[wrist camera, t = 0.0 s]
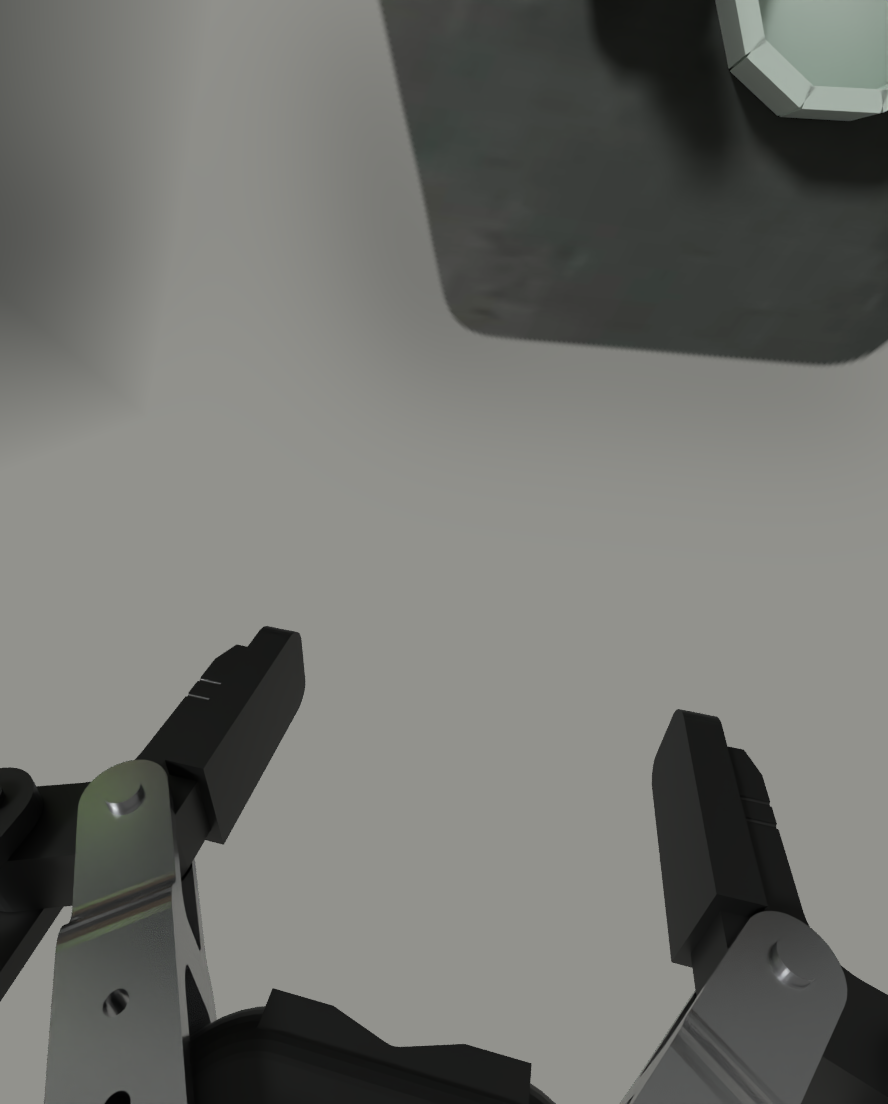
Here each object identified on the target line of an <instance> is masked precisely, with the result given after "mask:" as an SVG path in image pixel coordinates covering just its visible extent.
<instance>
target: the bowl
mask: <svg viewBox="0 0 888 1104" xmlns="http://www.w3.org/2000/svg"><path fill="white" fill-rule="evenodd" d="M715 3H716V8H717V13H718V18H719V23H720V28H721V33H722V38H723V43H724V48H725V53H726V58H727V63H728V68H731V67H733V68H732V69H731V70H730V72H731V73H732V74H733V75H734V76H735V77H737V78H738V79H739V80H740V81H741V82H742V83H743V84H744V85H745V86H746V87H747V88H748V89H749V90H750V91H751V92H752V93H753V94H755V95H756V96H757V97H758V98H759V99H760V100H761V101H762V102H763V103H764V104H765V105H766V106H767V107H768V108H769V109H770V110H771V111H773V112H774V113H775V114H776V115H777V116H779V115H780V117H787V118H804V119H821V120H839V121H852V120H856V119H860V118H864V117H868V116H872V115H875V114H879V113H883V112H885V111H887V110H888V0H715Z"/></svg>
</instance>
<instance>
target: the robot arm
mask: <svg viewBox="0 0 888 1104" xmlns="http://www.w3.org/2000/svg"><path fill="white" fill-rule="evenodd" d="M304 690H305V674H304V663H303V652H302V643H301V637H300V634H299V633H298V632H294V631H289V630H284V629H278V628H274V627H269V626H265V627H263V628H262V629H261V630H260V631H259V632H258V634H257V635H256V636H255V637H254V639H253V641H252V642H251V643H250V644H249V646H248V647H245V646H241V645H235V646H234V647H232V648H231V649H229V650H228V651H226V652H225V653H223V654H222V655H220V656H219V657H217V658H216V659H215V660H214V661H213V662H212V664H211V665H210V666H209V667H208V669H207V670H206V671H205V673H204V674H203V675H202V676H201V679H200V681H198V682H197V683H196V684H195V685H194V686H193V688H192V689H191V690H190V692H189V695H188V696H187V697H185V698H184V699H183V701H182V702H181V703H180V704H179V706H178V707H177V708H176V709H175V711H174V712H173V713H172V714H171V716H170V717H169V718H168V720H167V721H166V722H165V723H164V725H163V726H162V727H161V728H160V730H159V731H158V732H157V733H156V735H155V736H154V737H153V739H152V740H151V741H150V743H149V744H148V745H147V746H146V747H145V749H144V750H143V751H142V753H141V754H140V755H139V756H138V757H137V758H136V759H135V760H131V761H126V762H123V763H120V764H117V765H115V766H113V767H111V768H109V769H107V770H105V771H104V772H102V773H101V774H100V775H98V776H97V777H96V778H95V779H94V780H93V781H92V782H86V783H75V784H63V785H51V786H38V787H36V785H35V783H34V782H33V780H32V778H31V776H30V775H29V774H28V773H27V772H25V771H23V770H21V769H17V768H0V1001H1V999H2V998H3V997H4V995H5V994H6V992H7V991H8V989H9V988H10V986H11V985H12V983H13V982H14V980H15V979H16V977H17V976H18V974H19V973H20V971H21V969H22V968H23V967H24V965H25V964H26V962H27V961H28V959H29V958H30V956H31V955H32V953H33V952H34V950H35V948H36V947H37V946H38V944H39V943H40V941H41V940H42V938H43V936H44V935H45V933H46V932H47V931H48V929H49V928H50V926H51V925H52V923H53V922H54V920H55V918H56V917H57V916H58V914H59V912H60V911H61V909H62V908H63V907H64V906H72V916H71V920H70V922H69V923H68V924H66V925H64V926H62V928H61V929H60V932H59V935H58V938H57V944H56V953H55V964H54V979H53V991H52V1004H51V1018H50V1031H49V1045H48V1058H47V1071H46V1086H45V1099H44V1104H556V1103H554V1102H553V1101H552V1100H551V1099H550V1098H549V1097H548V1096H547V1095H545V1094H544V1093H543V1092H542V1091H541V1090H539V1089H538V1088H536V1087H535V1086H533V1085H532V1084H530V1077H531V1063H528V1062H524V1061H521V1060H518V1059H514V1058H511V1057H507V1056H504V1055H500V1054H497V1053H494V1052H490V1051H487V1050H483V1049H480V1048H476V1047H473V1046H469V1045H466V1044H456V1045H434V1046H413V1047H394V1046H391V1045H389V1044H387V1043H386V1042H384V1041H383V1040H381V1039H380V1038H379V1037H377V1036H375V1035H374V1034H373V1033H371V1032H370V1031H368V1030H367V1029H366V1028H364V1027H363V1026H361V1025H360V1024H358V1023H357V1022H355V1021H354V1020H353V1019H351V1018H350V1017H348V1016H347V1015H345V1014H344V1013H343V1012H341V1011H340V1010H338V1009H337V1008H336V1007H334V1006H332V1005H328V1004H325V1003H322V1002H318V1001H315V1000H311V999H308V998H304V997H301V996H298V995H294V994H291V993H287V992H283V991H280V990H277V989H272V992H271V994H270V996H269V999H268V1002H267V1004H266V1006H264V1007H255V1008H251V1009H245V1010H241V1011H238V1012H235V1013H232V1014H230V1015H227V1016H224V1017H222V1018H220V1019H218V1020H216V1011H215V1004H214V997H213V991H212V986H211V981H210V977H209V972H208V967H207V961H206V955H205V946H204V938H203V929H202V920H201V911H200V903H199V893H198V884H197V876H196V866H195V861H194V858H195V856H196V855H197V853H198V851H199V849H200V848H201V846H202V844H203V843H204V840H208V841H212V842H216V843H220V844H224V843H225V841H226V839H227V838H228V836H229V834H230V832H231V830H232V828H233V827H234V825H235V823H236V821H237V819H238V818H239V816H240V814H241V812H242V810H243V809H244V807H245V804H246V803H247V801H248V799H249V798H250V796H251V794H252V792H253V790H254V788H255V787H256V785H257V783H258V781H259V780H260V778H261V776H262V774H263V772H264V770H265V769H266V767H267V765H268V763H269V761H270V760H271V758H272V756H273V754H274V752H275V750H276V749H277V747H278V745H279V743H280V741H281V740H282V738H283V736H284V734H285V732H286V731H287V729H288V727H289V725H290V723H291V722H292V720H293V718H294V716H295V714H296V712H297V711H298V709H299V706H300V704H301V701H302V698H303V695H304ZM652 790H653V799H654V808H655V817H656V826H657V835H658V843H659V853H660V862H661V871H662V880H663V889H664V898H665V907H666V916H667V924H668V933H669V943H670V952H671V961H672V962H673V963H677V964H680V965H684V966H688V967H692V968H693V974H694V982H695V989H696V990H695V991H694V993H693V994H692V996H691V997H690V999H689V1000H688V1002H687V1003H686V1005H685V1006H684V1008H683V1009H682V1011H681V1012H680V1014H679V1016H678V1017H677V1018H676V1020H675V1022H674V1023H673V1025H672V1026H671V1028H670V1029H669V1031H668V1032H667V1034H666V1035H665V1037H664V1038H663V1040H662V1041H661V1043H660V1044H659V1046H658V1047H657V1049H656V1050H655V1052H654V1053H653V1055H652V1057H651V1058H650V1060H649V1061H648V1063H647V1064H646V1066H645V1067H644V1069H643V1070H642V1072H641V1073H640V1075H639V1076H638V1078H637V1079H636V1081H635V1082H634V1084H633V1085H632V1087H631V1088H630V1089H629V1091H628V1092H627V1094H626V1095H625V1097H624V1098H623V1099H622V1101H621V1102H620V1104H888V995H887V994H885V993H883V992H881V991H880V990H878V989H876V988H874V987H872V986H871V985H869V984H867V983H865V982H864V981H862V980H860V979H859V978H857V977H856V976H854V975H852V974H851V973H850V972H849V971H847V970H846V969H845V968H843V967H842V966H841V965H840V963H839V961H838V960H837V958H836V956H835V954H834V953H833V952H832V950H831V949H830V947H829V946H828V945H827V943H826V942H825V941H824V940H823V939H822V938H821V937H820V936H819V935H818V934H817V933H816V932H815V931H814V930H813V929H812V928H810V927H809V925H808V923H807V921H806V918H805V915H804V913H803V910H802V906H801V903H800V900H799V897H798V893H797V890H796V886H795V883H794V880H793V876H792V873H791V870H790V866H789V863H788V860H787V856H786V853H785V850H784V847H783V843H782V840H781V837H780V833H779V830H778V829H776V824H777V823H776V820H775V817H774V814H773V810H772V807H770V805H769V803H770V800H769V797H768V793H767V790H766V787H765V783H764V780H763V777H762V774H761V773H760V772H759V770H758V769H757V768H756V766H755V765H754V763H753V762H752V761H751V759H750V758H749V757H748V755H747V754H746V752H745V751H744V750H742V749H737V748H732V747H727V744H726V740H725V736H724V732H723V728H722V724H721V722H720V720H719V718H718V717H715V716H710V715H705V714H700V713H695V712H690V711H685V710H680V709H678V710H676V711H675V713H674V714H673V717H672V719H671V721H670V724H669V726H668V728H667V731H666V733H665V735H664V738H663V740H662V743H661V745H660V747H659V749H658V752H657V754H656V757H655V760H654V765H653V772H652Z"/></svg>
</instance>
